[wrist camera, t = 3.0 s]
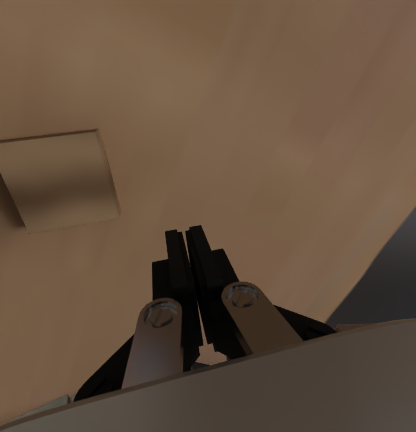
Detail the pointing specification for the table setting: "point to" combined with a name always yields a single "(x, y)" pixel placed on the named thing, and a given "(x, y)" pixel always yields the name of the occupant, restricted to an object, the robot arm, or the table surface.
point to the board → (59, 180)
